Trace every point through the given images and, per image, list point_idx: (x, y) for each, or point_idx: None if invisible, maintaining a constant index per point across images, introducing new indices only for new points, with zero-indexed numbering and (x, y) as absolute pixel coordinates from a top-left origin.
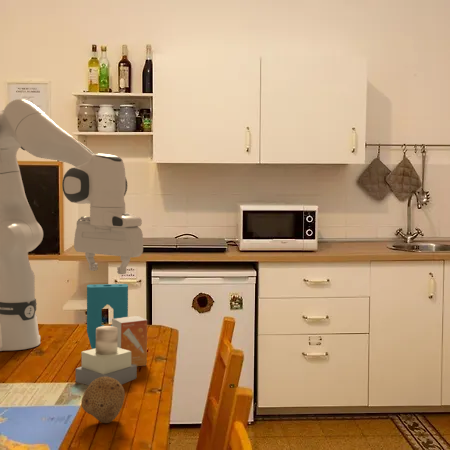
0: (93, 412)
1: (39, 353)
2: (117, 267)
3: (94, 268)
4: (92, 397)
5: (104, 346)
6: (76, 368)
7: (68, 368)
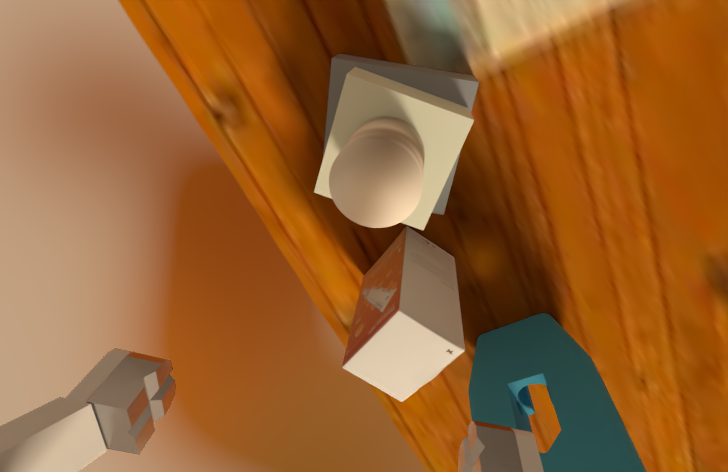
0: None
1: (723, 271)
2: (130, 405)
3: (471, 446)
4: None
5: (366, 125)
6: (476, 84)
7: (560, 180)
